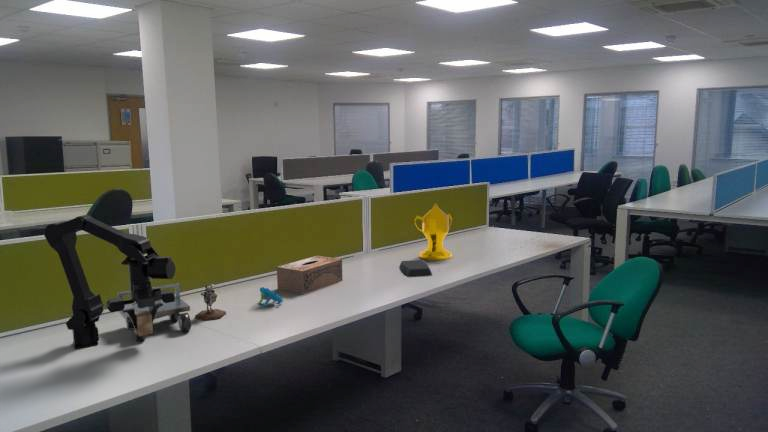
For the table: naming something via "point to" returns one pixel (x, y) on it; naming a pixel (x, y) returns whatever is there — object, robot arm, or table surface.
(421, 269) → the external hard drive
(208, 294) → the robot figurine
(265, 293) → the blue irregular piece
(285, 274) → the tissue box cover
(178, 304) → the trolley
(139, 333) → the block
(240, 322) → the table surface
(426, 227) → the trophy cup
